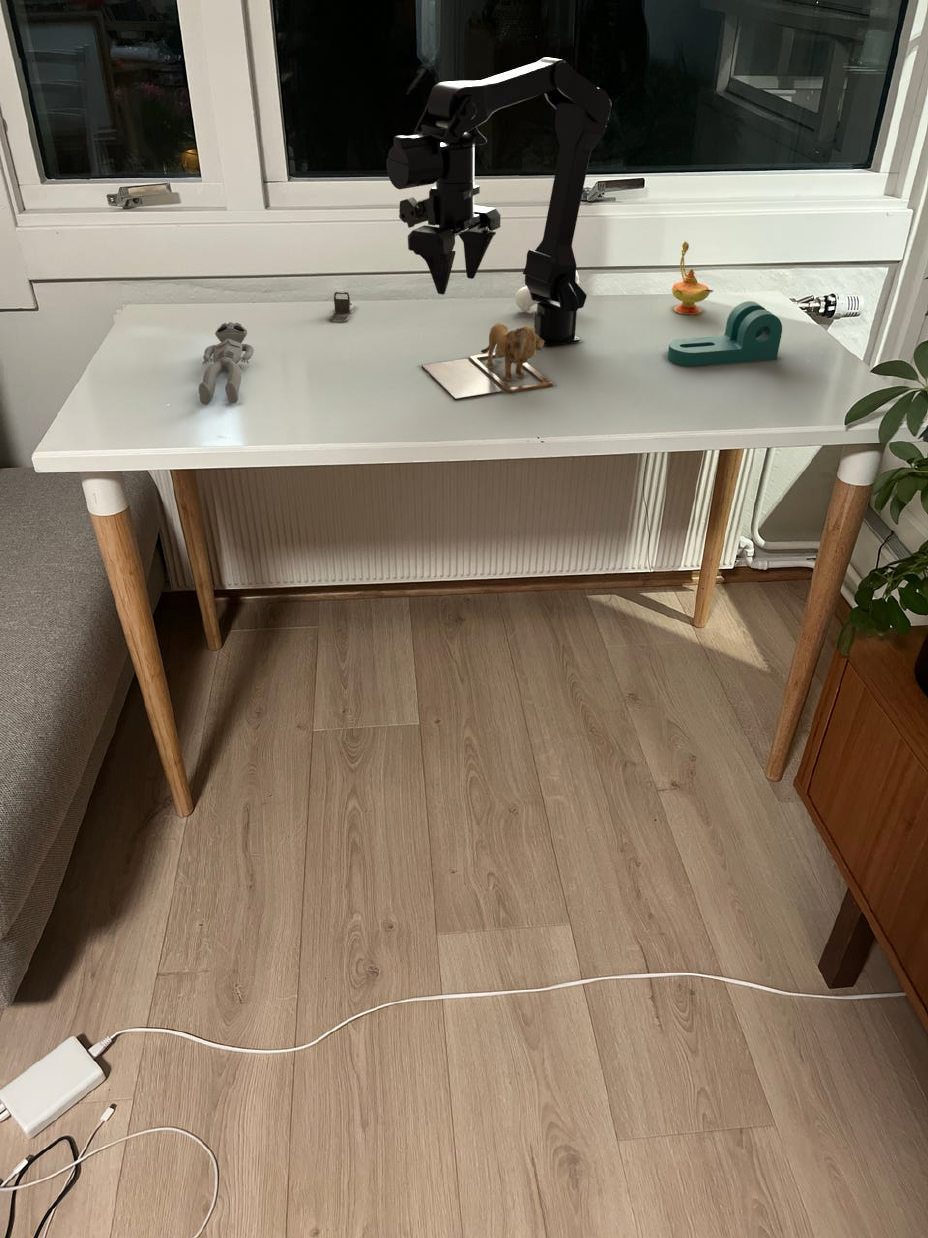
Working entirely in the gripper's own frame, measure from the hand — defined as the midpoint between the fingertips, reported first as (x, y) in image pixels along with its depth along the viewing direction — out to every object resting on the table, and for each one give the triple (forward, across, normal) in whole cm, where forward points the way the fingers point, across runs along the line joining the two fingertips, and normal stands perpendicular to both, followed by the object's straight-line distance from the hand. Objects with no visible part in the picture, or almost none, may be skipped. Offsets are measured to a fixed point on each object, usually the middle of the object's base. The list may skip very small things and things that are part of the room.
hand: (456, 285), depth 153 cm
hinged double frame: (+13, +1, +6) cm, 15 cm away
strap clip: (+13, -12, -32) cm, 36 cm away
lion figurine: (+13, -2, +9) cm, 16 cm away
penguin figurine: (+14, -32, +1) cm, 35 cm away
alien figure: (+13, +22, -30) cm, 40 cm away
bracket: (+14, -26, +36) cm, 47 cm away
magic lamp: (+14, -45, +25) cm, 53 cm away
